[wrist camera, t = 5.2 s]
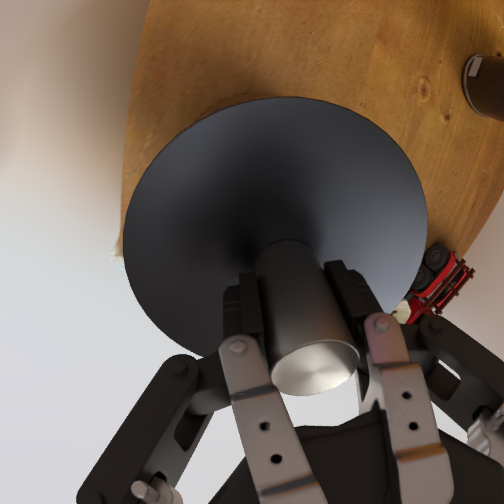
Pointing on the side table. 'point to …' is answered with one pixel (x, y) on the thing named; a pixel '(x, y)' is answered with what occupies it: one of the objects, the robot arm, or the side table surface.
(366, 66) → the side table surface
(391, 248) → the bin lid
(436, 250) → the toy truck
